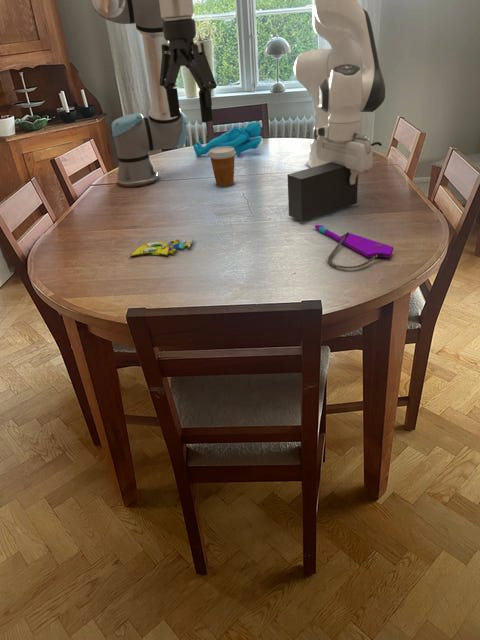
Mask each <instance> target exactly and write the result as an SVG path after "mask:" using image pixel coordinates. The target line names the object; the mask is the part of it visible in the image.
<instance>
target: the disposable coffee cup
mask: <svg viewBox="0 0 480 640" xmlns="http://www.w3.org/2000/svg"><path fill="white" fill-rule="evenodd" d="M235 153H236V151H235V150H234V148H233V147H228V146H225V147H216V148H213V149H211V150H210V151H209V152H208V157H209V159H210V163H211V167H212V171H213V176H214V179H215V180H214V181H215V184H216V186H217V187H230V186H232V185H234V184H235V162H236V161H235V159H236V154H235Z"/></svg>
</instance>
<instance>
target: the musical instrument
mask: <svg viewBox="0 0 480 640" xmlns="http://www.w3.org/2000/svg"><path fill="white" fill-rule="evenodd" d="M314 229H315V230H318V231H319V232H320V233H322V234H324V235H326V236H328V237H330V238H332V239H333V240H335V241H337V242H338V243H337V244H336V246H335V247H334V249H333V250H332V251H331V253H330V254H329V256H328V259H327V262H328V264H329V266H331V267H333V268H340V269H358V268H362V267H364V266H366V265H368V264H370V263H371V262H373V261H374V260H375V259H376V258H378V257H381V258H391V256H392V254H393V251H394V246H393V245H392V246H391V245H389V244H386V243H383V242H380V241H376V240H372V239H369V238H367V237H363V236H361V235H358V234H354V233H351V232H348V231H347V232H346V233H344V234H342V235H338V234H336V233H335V232H333V231H331V230H330V229H328V228H326V227H325V226H324V225H323V224H322V225H321V224H316V225H314ZM342 244H343V245H344V246H345V247H348V248H350V249H352V250H353V251H355V252H357V253H359V254H360V255H362V256H364V257H366V258H370V259H367V260H366V261H364V262H363V263H361V264H358V265H353V266H350V265H349V266H348V265H347V266H346V265H345V266H344V265H340V264H338V265H337V264H334V263H333V262H332V258H333V256H334V255H335V253H336V252H337V250H338V249H339V248H340V246H341V245H342Z"/></svg>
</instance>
